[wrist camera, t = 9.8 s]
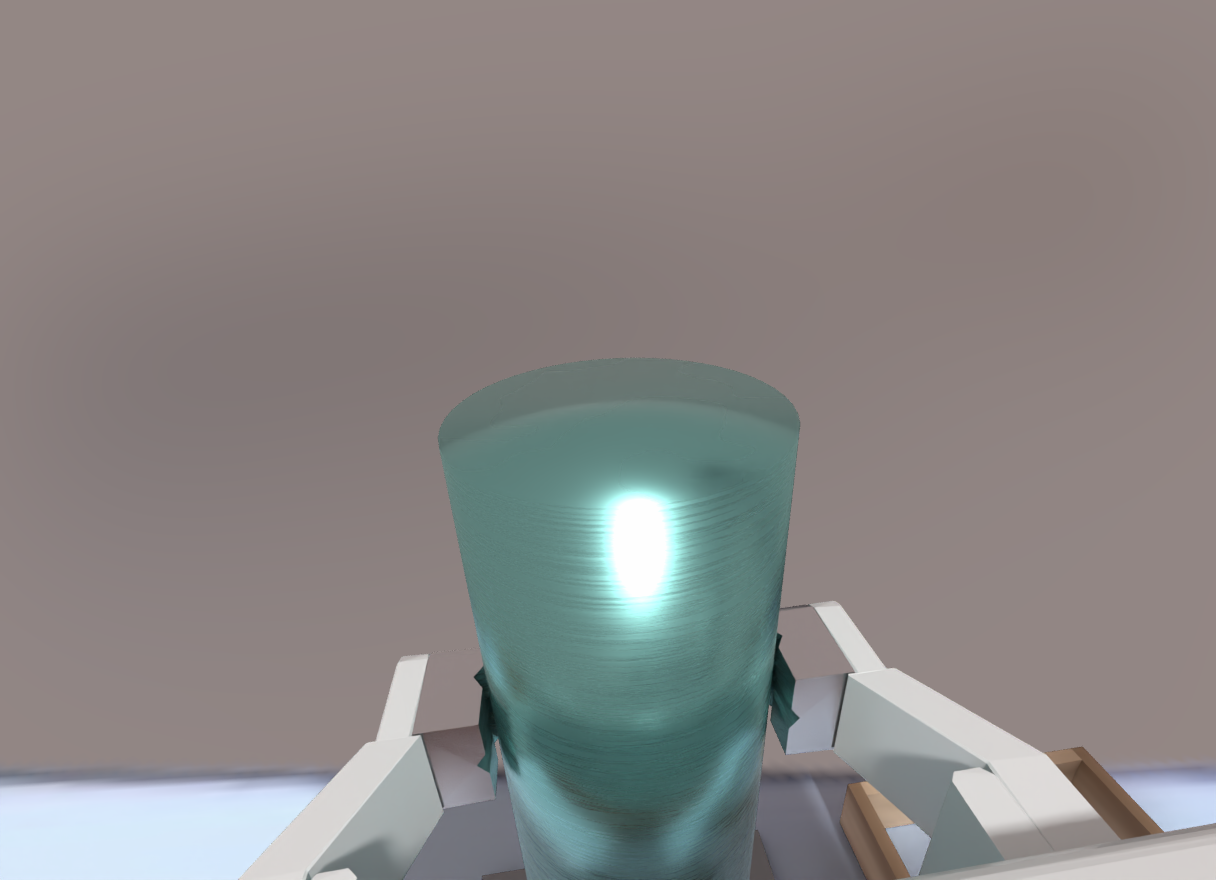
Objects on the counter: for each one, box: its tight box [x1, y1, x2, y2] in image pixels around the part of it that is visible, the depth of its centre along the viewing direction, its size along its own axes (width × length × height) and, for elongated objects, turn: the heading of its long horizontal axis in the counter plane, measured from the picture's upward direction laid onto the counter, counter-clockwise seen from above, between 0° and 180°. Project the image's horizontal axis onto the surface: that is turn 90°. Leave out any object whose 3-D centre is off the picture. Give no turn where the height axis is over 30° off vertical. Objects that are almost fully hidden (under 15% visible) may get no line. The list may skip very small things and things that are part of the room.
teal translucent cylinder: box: [438, 358, 800, 880], centre depth 10 cm, size 5×5×12 cm
